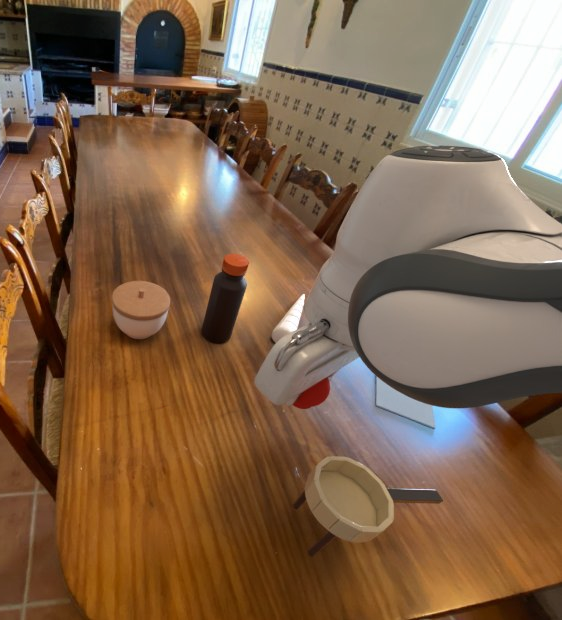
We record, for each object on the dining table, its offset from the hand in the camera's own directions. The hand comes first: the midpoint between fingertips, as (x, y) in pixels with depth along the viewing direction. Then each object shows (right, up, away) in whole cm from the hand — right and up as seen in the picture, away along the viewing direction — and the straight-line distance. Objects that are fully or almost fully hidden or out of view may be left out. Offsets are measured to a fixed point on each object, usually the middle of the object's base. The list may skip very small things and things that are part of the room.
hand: (304, 389), depth 46 cm
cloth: (+32, -7, +25) cm, 41 cm away
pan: (+7, -22, +6) cm, 23 cm away
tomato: (0, -1, +1) cm, 2 cm away
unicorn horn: (+16, +8, +42) cm, 46 cm away
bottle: (-4, +5, +36) cm, 37 cm away
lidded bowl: (-22, +6, +36) cm, 42 cm away
